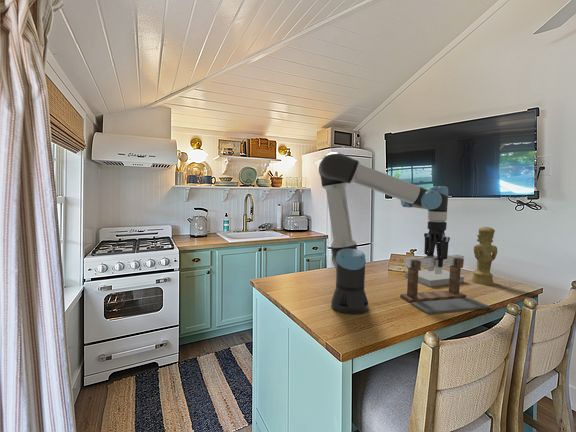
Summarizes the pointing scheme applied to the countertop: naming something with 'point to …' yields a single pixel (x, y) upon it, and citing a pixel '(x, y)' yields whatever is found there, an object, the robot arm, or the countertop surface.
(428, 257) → the rail
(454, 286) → the rack
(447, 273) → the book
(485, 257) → the statue
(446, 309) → the mat
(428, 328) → the countertop surface
